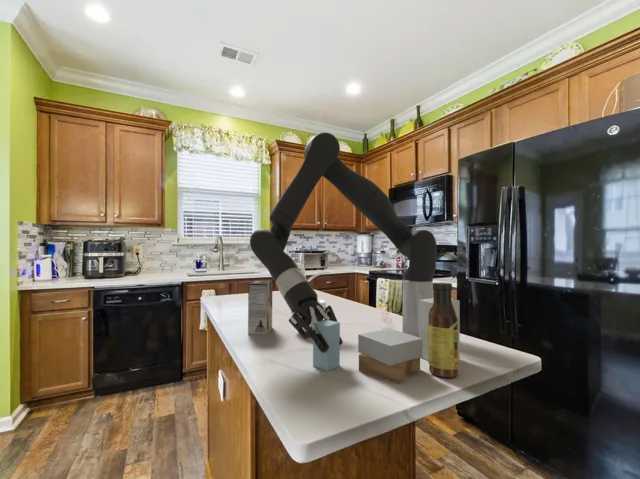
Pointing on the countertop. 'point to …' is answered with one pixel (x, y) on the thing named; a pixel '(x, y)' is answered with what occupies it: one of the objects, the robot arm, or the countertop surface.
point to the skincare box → (424, 321)
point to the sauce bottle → (443, 333)
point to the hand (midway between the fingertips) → (332, 347)
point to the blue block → (332, 337)
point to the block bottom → (388, 369)
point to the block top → (390, 346)
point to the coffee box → (259, 307)
